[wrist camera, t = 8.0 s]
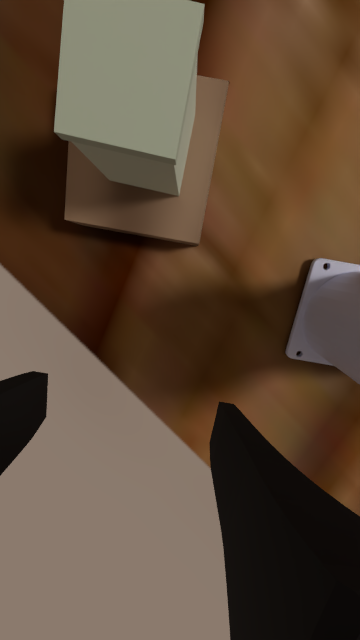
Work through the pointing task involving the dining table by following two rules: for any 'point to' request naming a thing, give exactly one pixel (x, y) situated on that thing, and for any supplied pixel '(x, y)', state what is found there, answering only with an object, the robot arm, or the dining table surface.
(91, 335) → the dining table surface
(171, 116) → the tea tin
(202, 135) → the tan flat square block
